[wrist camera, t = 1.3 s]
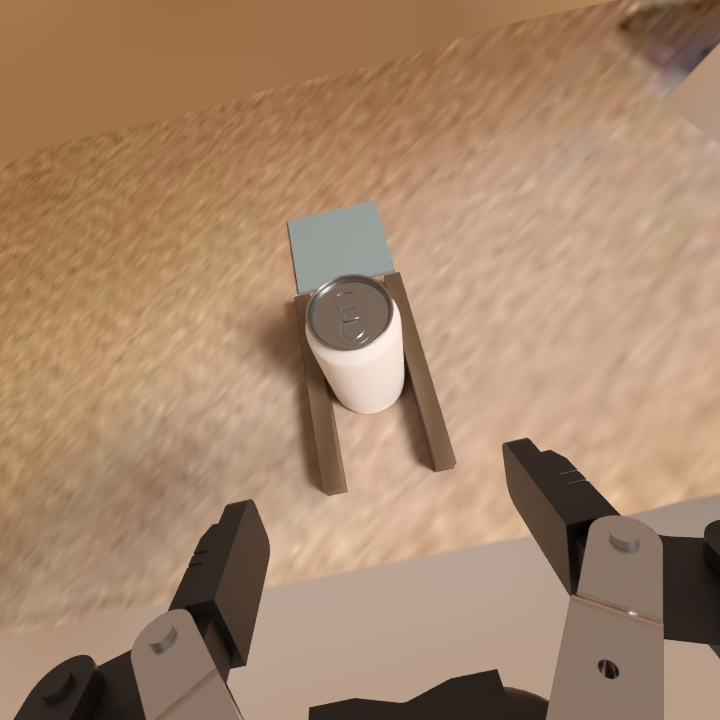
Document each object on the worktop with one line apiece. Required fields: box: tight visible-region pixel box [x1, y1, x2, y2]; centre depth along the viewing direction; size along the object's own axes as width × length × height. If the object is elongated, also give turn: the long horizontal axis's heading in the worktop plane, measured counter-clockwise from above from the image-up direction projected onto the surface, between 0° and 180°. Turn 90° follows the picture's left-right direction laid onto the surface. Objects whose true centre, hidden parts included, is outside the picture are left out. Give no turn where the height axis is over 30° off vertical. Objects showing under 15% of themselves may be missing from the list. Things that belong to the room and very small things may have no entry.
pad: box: [288, 200, 395, 295], centre depth 43 cm, size 10×10×1 cm
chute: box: [294, 272, 456, 496], centre depth 35 cm, size 10×18×2 cm, turn 11°
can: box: [306, 274, 404, 414], centre depth 30 cm, size 6×6×12 cm
